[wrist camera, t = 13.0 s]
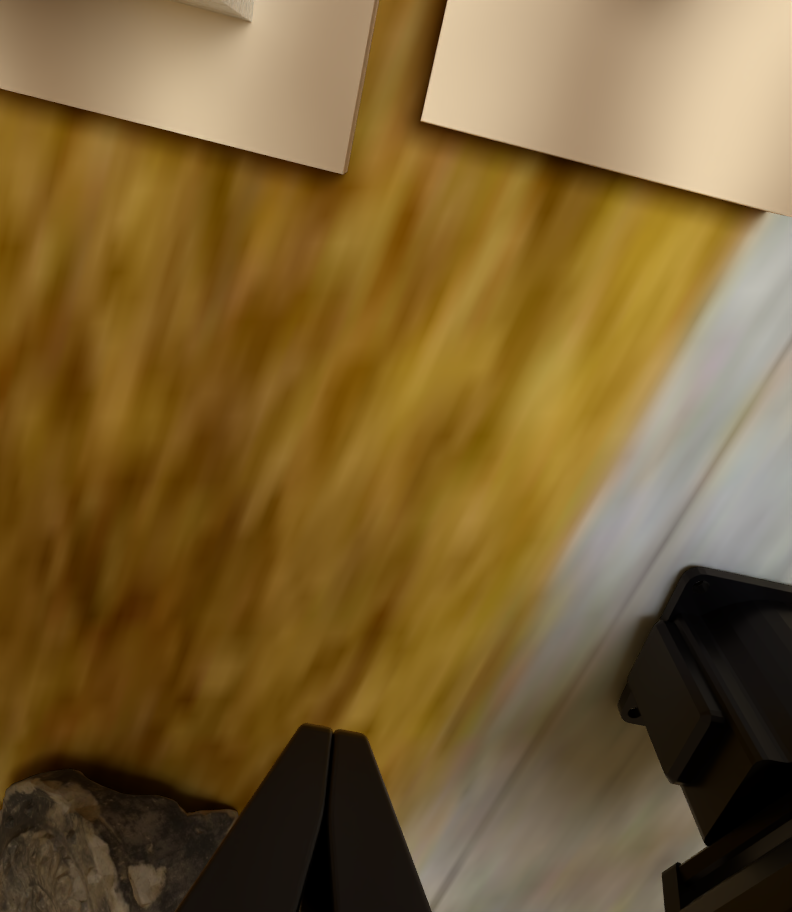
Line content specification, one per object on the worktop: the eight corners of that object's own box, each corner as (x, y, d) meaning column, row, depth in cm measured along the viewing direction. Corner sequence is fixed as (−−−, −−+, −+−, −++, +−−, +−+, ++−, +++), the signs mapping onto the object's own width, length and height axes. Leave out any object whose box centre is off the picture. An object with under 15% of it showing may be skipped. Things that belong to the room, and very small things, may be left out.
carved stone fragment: (-24, 722, 25) (-36, 1032, 17) (225, 687, 29) (303, 916, 22) (-34, 908, 29) (-45, 1222, 21) (185, 850, 34) (239, 1090, 26)
